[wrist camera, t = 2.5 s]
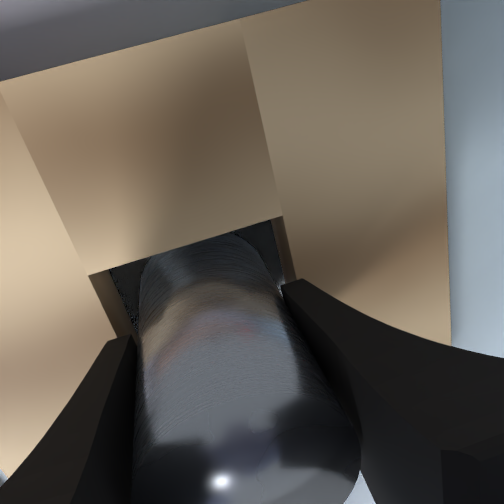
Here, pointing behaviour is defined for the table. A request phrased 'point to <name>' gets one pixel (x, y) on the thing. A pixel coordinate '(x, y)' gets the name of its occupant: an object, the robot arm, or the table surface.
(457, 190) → the table surface
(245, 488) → the steel cylinder
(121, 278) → the table surface
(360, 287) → the pocket block
